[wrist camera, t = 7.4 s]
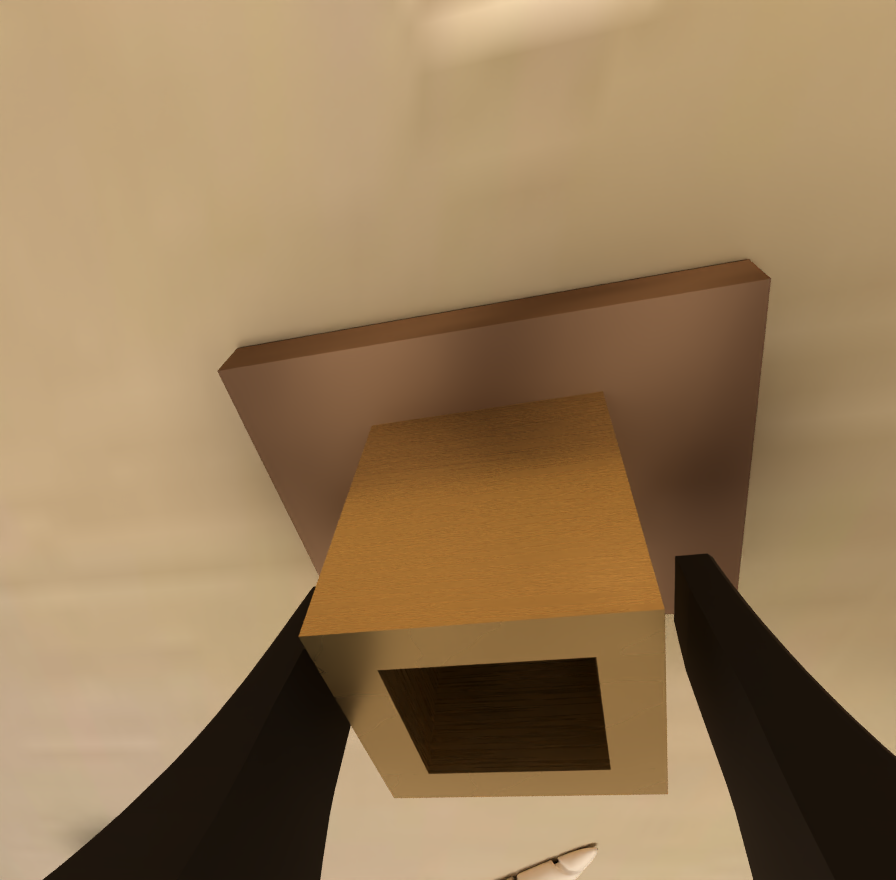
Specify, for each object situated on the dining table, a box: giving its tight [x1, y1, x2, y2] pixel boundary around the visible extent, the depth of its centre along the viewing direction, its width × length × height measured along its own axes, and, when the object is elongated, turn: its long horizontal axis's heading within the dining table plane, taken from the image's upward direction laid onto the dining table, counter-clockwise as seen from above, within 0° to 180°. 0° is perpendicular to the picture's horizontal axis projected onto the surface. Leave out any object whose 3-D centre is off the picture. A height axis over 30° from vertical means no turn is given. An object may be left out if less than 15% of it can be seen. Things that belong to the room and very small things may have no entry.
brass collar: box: [299, 391, 668, 798], centre depth 12 cm, size 6×6×6 cm
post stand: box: [218, 259, 771, 614], centre depth 14 cm, size 12×10×4 cm
